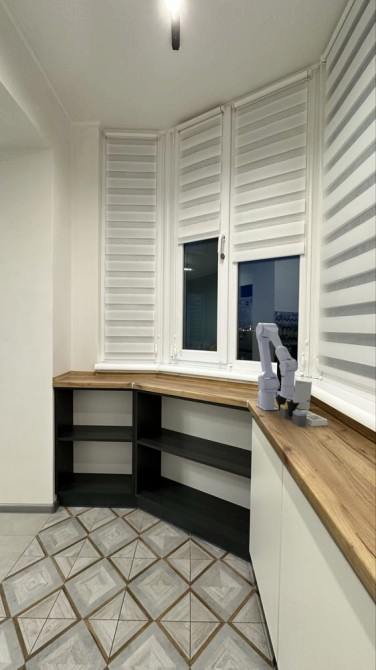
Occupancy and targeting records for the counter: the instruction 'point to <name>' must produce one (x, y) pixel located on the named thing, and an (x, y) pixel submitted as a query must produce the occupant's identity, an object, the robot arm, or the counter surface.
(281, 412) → the ochre plug
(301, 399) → the skincare box
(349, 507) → the counter surface
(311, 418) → the rack
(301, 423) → the blue plug
